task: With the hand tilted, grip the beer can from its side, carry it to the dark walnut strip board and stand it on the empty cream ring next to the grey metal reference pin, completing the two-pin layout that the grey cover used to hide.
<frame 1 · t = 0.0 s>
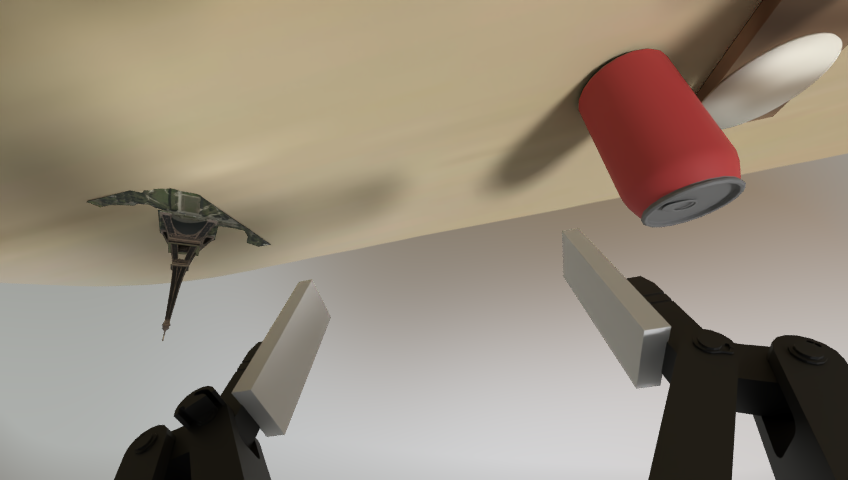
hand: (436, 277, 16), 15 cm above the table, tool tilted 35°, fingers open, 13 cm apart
layout board: (816, 2, 22), on the table
beer can: (617, 82, 26), on the table
eiffel tower figurine: (195, 221, 37), on the table
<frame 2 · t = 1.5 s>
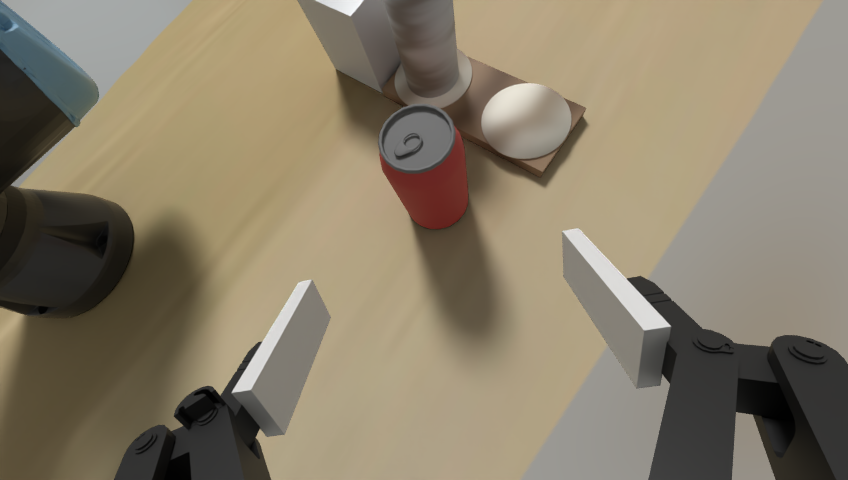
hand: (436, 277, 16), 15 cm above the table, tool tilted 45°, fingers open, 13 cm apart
layout board: (476, 105, 36), on the table
housing cover: (377, 57, 40), on the table
beer can: (437, 202, 34), on the table
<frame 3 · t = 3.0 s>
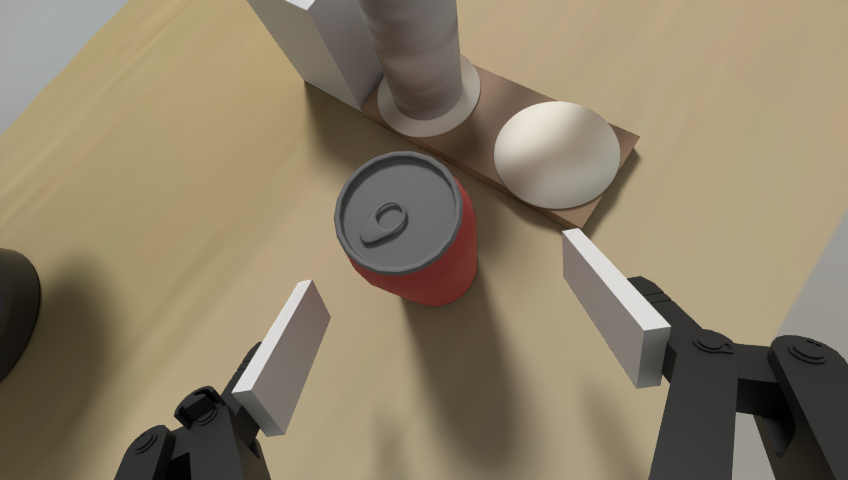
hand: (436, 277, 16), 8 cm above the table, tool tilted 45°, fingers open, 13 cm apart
layout board: (486, 129, 27), on the table
housing cover: (356, 65, 31), on the table
beer can: (435, 264, 25), on the table
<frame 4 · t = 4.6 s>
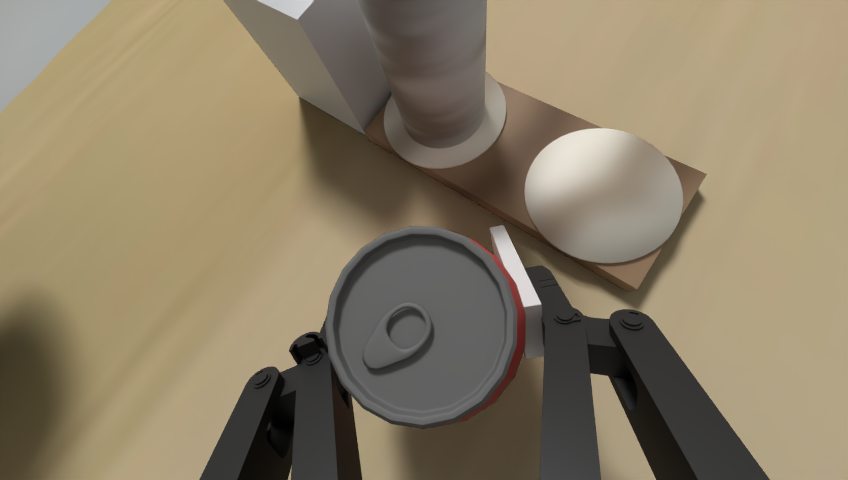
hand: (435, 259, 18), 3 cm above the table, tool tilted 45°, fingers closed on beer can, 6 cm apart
layout board: (513, 159, 23), on the table
housing cover: (359, 79, 27), on the table
beer can: (452, 324, 20), on the table, touching gripper
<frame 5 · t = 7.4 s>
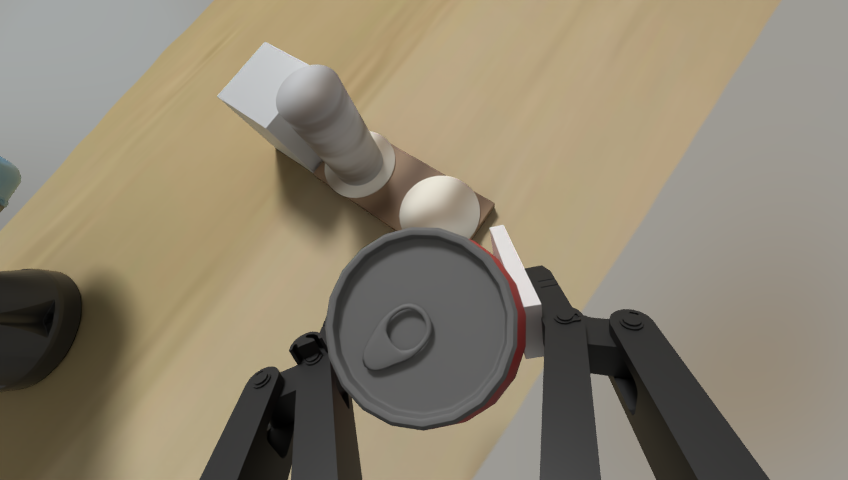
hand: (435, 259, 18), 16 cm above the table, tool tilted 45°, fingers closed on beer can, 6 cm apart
layout board: (399, 191, 38), on the table
housing cover: (313, 137, 42), on the table
beer can: (452, 324, 20), point 13 cm above the table, touching gripper
when the fingers open (6 cm above the table, at t = 10.5 s): beer can drops 1 cm, resting on layout board.
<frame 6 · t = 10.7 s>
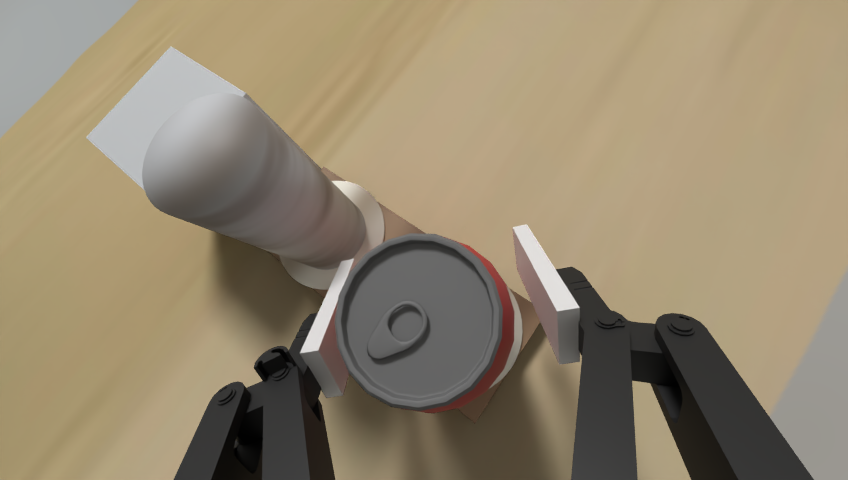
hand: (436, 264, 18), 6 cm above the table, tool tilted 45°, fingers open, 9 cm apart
layout board: (392, 277, 24), on the table
housing cover: (267, 185, 29), on the table
beer can: (454, 325, 21), point 1 cm above the table, touching layout board
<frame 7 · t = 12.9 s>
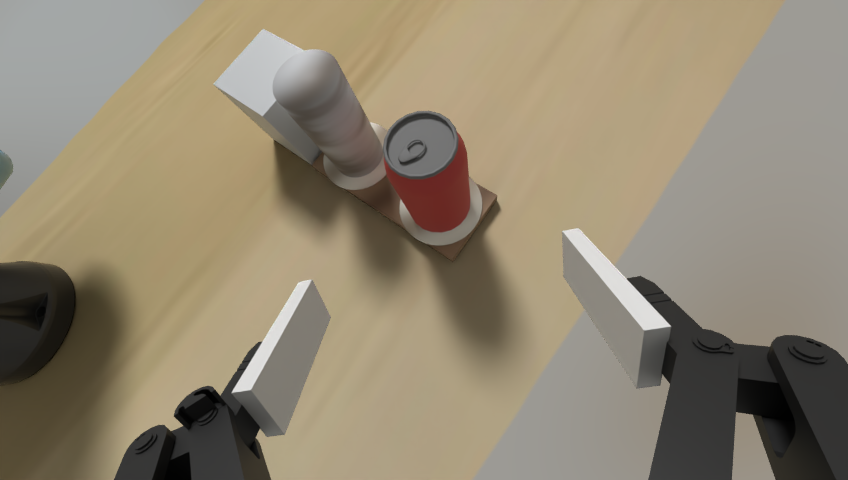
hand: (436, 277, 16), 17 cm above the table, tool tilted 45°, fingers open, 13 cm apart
layout board: (400, 183, 37), on the table
housing cover: (312, 129, 41), on the table
beer can: (440, 206, 34), point 1 cm above the table, touching layout board
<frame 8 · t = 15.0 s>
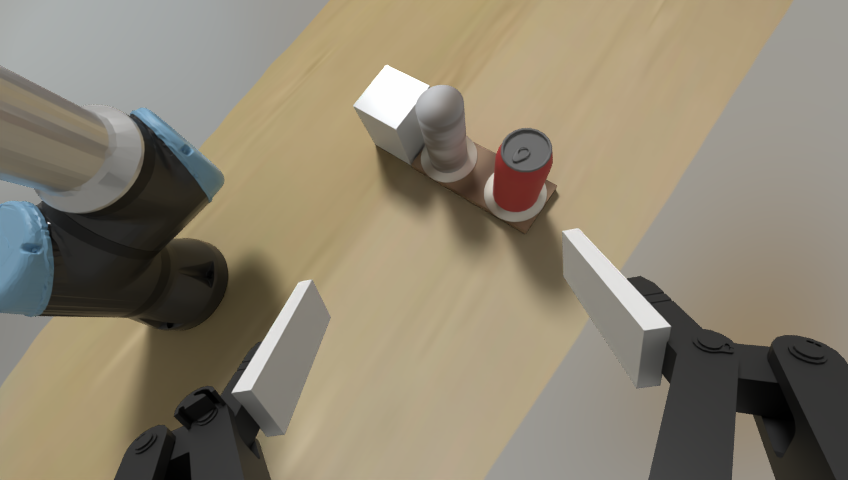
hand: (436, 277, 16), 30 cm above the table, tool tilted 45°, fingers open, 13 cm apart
layout board: (480, 177, 50), on the table
housing cover: (406, 136, 54), on the table
beer can: (514, 193, 47), point 1 cm above the table, touching layout board
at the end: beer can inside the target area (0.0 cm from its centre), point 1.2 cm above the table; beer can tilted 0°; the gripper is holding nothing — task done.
